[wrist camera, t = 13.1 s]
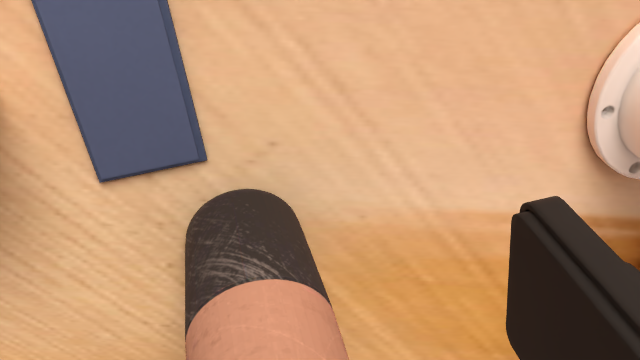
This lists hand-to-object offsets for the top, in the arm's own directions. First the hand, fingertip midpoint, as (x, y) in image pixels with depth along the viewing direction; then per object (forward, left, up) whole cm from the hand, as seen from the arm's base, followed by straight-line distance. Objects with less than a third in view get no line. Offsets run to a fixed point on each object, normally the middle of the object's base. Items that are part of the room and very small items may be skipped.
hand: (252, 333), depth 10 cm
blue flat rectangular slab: (+4, +3, -24) cm, 24 cm away
